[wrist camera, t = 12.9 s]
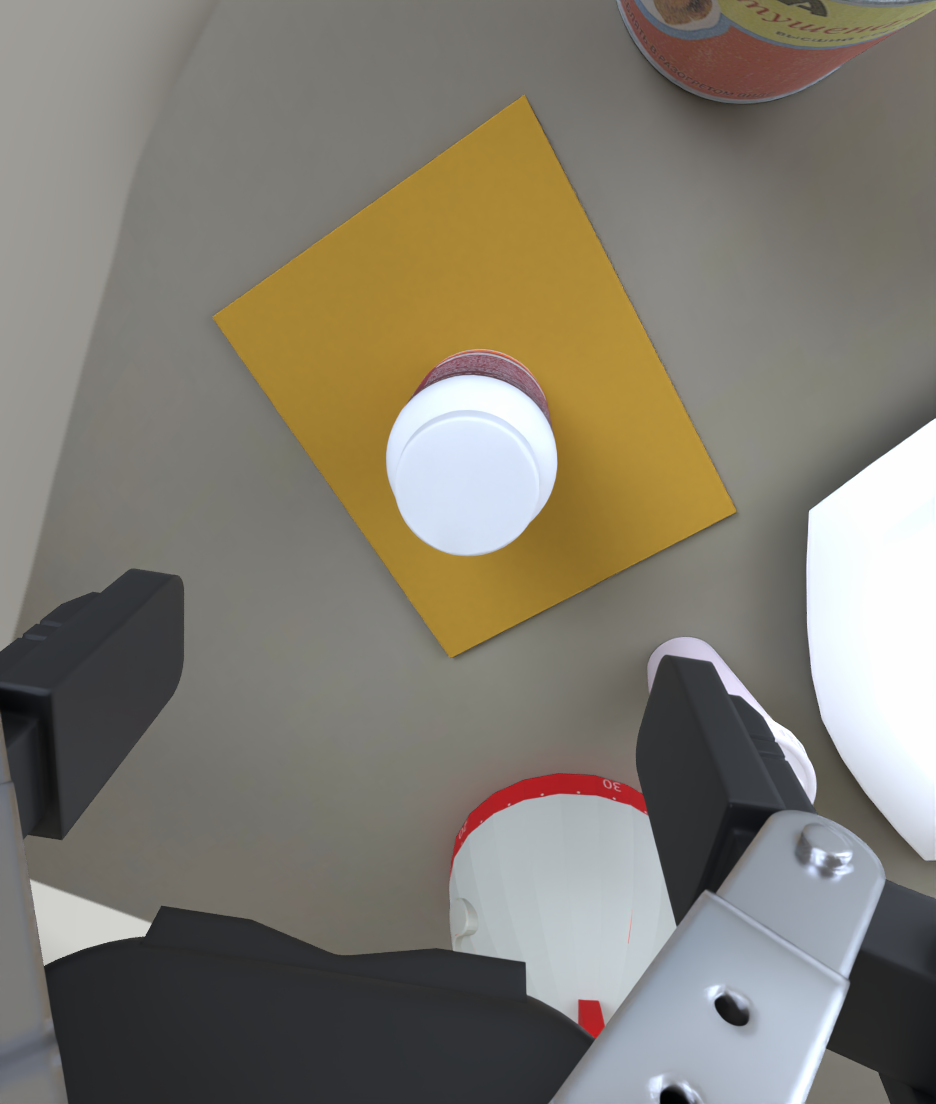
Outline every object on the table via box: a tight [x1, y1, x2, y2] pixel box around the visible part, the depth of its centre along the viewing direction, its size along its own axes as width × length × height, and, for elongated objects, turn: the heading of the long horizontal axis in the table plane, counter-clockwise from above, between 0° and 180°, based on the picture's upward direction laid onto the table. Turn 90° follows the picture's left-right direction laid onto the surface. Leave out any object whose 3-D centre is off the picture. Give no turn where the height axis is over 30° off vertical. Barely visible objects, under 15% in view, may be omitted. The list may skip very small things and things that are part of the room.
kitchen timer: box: [449, 774, 677, 1039], centre depth 36 cm, size 14×14×15 cm
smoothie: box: [647, 637, 817, 805], centre depth 31 cm, size 6×6×14 cm
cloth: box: [212, 95, 737, 658], centre depth 34 cm, size 20×16×1 cm
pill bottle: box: [386, 349, 557, 556], centre depth 28 cm, size 6×6×11 cm
